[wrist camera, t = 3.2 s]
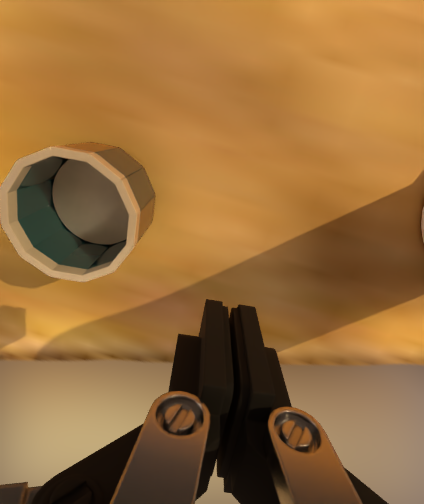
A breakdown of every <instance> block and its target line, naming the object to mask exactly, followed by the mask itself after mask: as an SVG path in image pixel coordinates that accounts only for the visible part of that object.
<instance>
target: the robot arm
mask: <svg viewBox="0 0 424 504" xmlns="http://www.w3.org/2000/svg"><path fill="white" fill-rule="evenodd" d="M421 230H422V237H423V242H424V207H423V210H422V221H421ZM216 459H217V476H218V477H222V478H224V492H227V493H232V495H233V496H234V497H235V498H236V499H237V500H238V502H239V503H240V504H388V503H387V502H386V501H384V500H383V499H382V498H381V497H380V496H378V495H377V494H376V493H375V492H373V491H372V490H371V489H370V488H368V487H367V486H366V485H365V484H364V483H362V482H361V481H360V480H359V479H358V478H356V477H355V476H354V475H353V474H352V473H350V472H349V471H348V470H347V469H345V468H344V467H343V465H342V463H341V461H340V459H339V457H338V455H337V454H336V452H335V450H334V448H333V446H332V444H331V442H330V440H329V438H328V436H327V434H326V433H325V431H324V429H323V428H322V426H321V425H320V423H319V422H317V421H316V420H315V419H314V418H313V417H312V416H311V415H309V414H308V413H306V412H304V411H302V410H299V409H297V408H293V407H292V406H291V403H290V399H289V396H288V392H287V389H286V385H285V382H284V378H283V374H282V371H281V367H280V364H279V360H278V356H277V353H276V351H275V349H274V348H267V347H264V343H263V339H262V334H261V330H260V326H259V321H258V317H257V313H256V309H255V307H252V306H245V305H238V307H237V308H232V309H231V313H230V317H229V315H228V307H225V306H223V304H222V302H221V301H215V300H209V299H206V303H205V307H204V312H203V317H202V322H201V328H200V333H199V337H196V336H190V335H184V334H178V339H177V345H176V351H175V357H174V362H173V368H172V375H171V380H170V386H169V392H168V393H165V394H163V395H161V396H160V397H158V398H157V399H156V400H155V401H154V403H153V404H152V406H151V408H150V410H149V412H148V415H147V417H146V419H145V422H144V424H142V425H140V426H139V427H137V428H135V429H134V430H132V431H130V432H129V433H127V434H125V435H123V436H122V437H120V438H118V439H117V440H115V441H114V442H112V443H110V444H108V445H106V446H105V447H103V448H101V449H100V450H98V451H96V452H95V453H93V454H91V455H89V456H88V457H86V458H84V459H83V460H81V461H79V462H78V463H76V464H74V465H73V466H71V467H69V468H68V469H66V470H64V471H62V472H61V473H59V474H57V475H56V476H54V477H53V478H52V479H51V480H49V481H48V482H46V483H45V484H44V485H43V486H38V487H30V488H28V482H24V483H14V484H5V485H0V504H195V501H196V500H197V499H198V498H199V497H200V496H201V495H202V494H204V493H205V492H206V491H207V488H208V484H209V480H210V476H212V474H213V470H214V466H215V463H216Z"/></svg>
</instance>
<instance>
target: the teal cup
mask: <svg viewBox="0 0 424 504" xmlns="http://www.w3.org/2000/svg"><path fill="white" fill-rule="evenodd" d="M154 203H155V193H154V190H153V188H152V185H151V183H150V181H149V178H148V176H147V173H146V171H145V169H144V168H143V166H142V165H140V164H139V163H138V162H137V161H136V160H134V159H133V158H132V157H131V156H130V155H128V154H127V153H126V152H125V151H123V150H122V149H121V148H119V147H114V146H109V145H104V144H99V143H93V142H87V143H78V144H69V145H60V146H51V147H47V148H45V149H42V150H40V151H37V152H35V153H32V154H30V155H27V156H25V157H22V158H20V159H18V160H17V161H16V162H15V164H14V165H13V167H12V169H11V170H10V172H9V174H8V175H7V177H6V178H5V180H4V182H3V183H2V185H1V187H0V223H1V224H2V225H1V226H2V228H3V230H4V231H5V233H6V235H7V236H8V238H9V240H10V241H11V243H12V245H13V246H14V248H15V249H16V251H17V253H18V254H19V256H20V255H21V256H20V257H21V258H23V259H24V260H26V261H27V262H29V263H30V264H32V265H33V266H35V267H36V268H38V269H39V270H40V271H42V272H43V273H45V274H46V275H48V276H50V277H54V278H60V279H66V280H72V281H78V282H87V281H90V280H93V279H96V278H99V277H102V276H105V275H108V274H111V273H113V272H115V271H116V269H117V268H118V267H119V266H120V265H121V263H122V262H123V261H124V260H125V258H126V257H127V256H128V255H129V253H130V252H131V251H132V250H133V249H134V247H135V246H136V244H137V243H138V241H139V240H140V239H141V237H142V236H143V234H144V233H145V231H146V230H147V229H148V227H149V226H150V224H151V223H152V220H153V212H154Z"/></svg>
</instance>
